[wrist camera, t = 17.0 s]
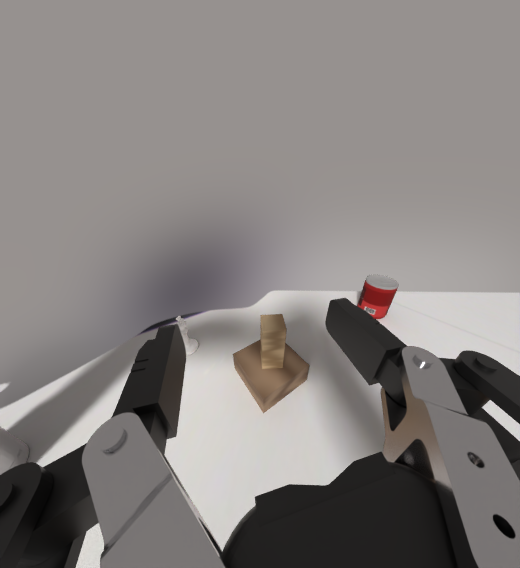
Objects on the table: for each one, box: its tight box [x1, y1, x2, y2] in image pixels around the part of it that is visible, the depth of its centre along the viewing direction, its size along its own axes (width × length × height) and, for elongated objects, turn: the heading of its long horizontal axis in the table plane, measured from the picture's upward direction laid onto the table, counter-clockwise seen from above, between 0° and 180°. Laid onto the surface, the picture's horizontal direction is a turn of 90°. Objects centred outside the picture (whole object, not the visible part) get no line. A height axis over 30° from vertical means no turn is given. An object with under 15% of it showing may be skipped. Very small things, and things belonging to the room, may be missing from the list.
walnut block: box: [233, 340, 309, 413], centre depth 39 cm, size 11×11×5 cm
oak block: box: [261, 314, 286, 369], centre depth 35 cm, size 4×4×10 cm
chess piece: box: [176, 316, 199, 356], centre depth 44 cm, size 5×5×10 cm
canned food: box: [358, 275, 399, 319], centre depth 55 cm, size 8×8×11 cm
